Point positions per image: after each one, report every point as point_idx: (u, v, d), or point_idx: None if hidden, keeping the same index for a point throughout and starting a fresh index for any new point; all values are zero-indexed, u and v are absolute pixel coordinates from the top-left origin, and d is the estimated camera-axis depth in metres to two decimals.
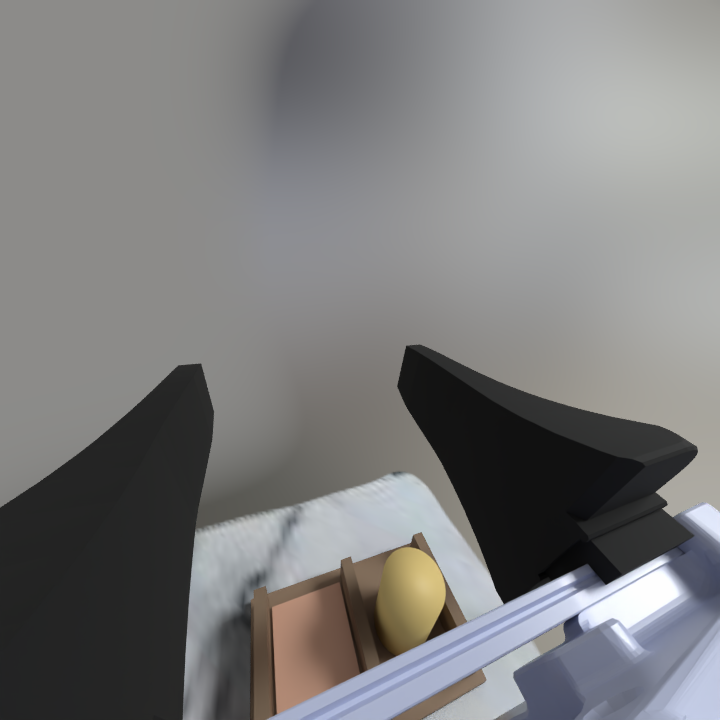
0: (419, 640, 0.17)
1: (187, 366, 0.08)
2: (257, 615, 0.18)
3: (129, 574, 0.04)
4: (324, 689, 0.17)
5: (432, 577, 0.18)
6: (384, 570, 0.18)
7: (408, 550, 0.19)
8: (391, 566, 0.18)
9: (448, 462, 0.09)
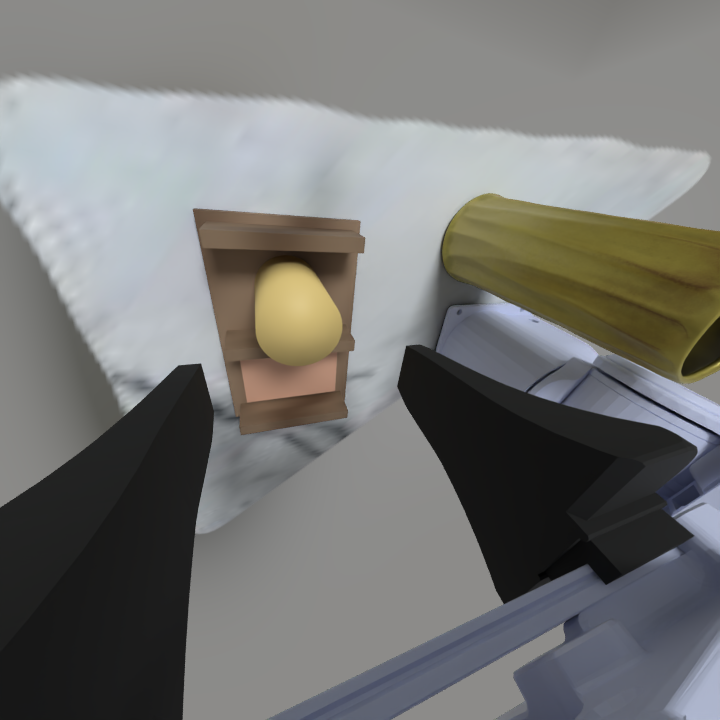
0: None
1: (187, 366, 0.08)
2: (262, 429, 0.20)
3: (129, 574, 0.04)
4: (313, 365, 0.21)
5: (304, 304, 0.12)
6: (278, 360, 0.13)
7: (261, 322, 0.12)
8: (276, 351, 0.13)
9: (448, 462, 0.09)
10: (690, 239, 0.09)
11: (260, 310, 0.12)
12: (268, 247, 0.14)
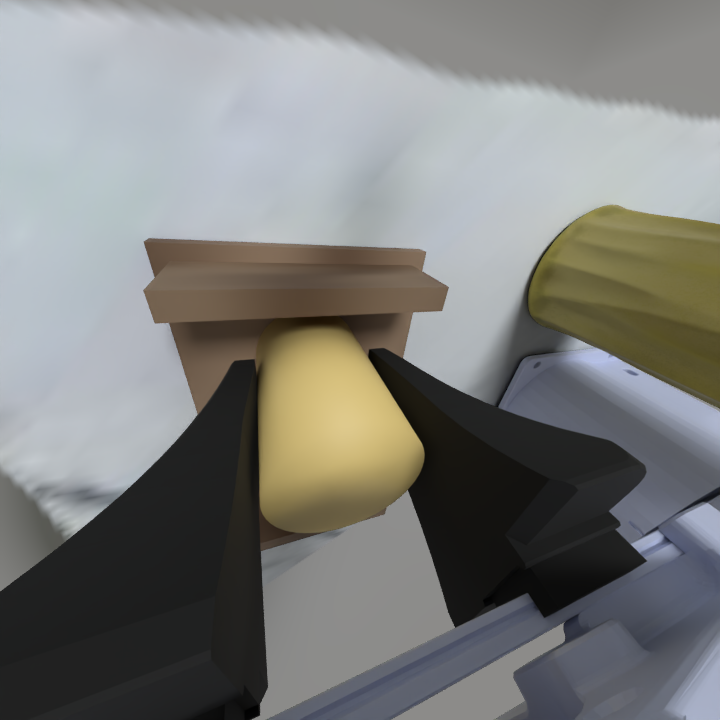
0: None
1: (243, 361, 0.08)
2: (267, 546, 0.14)
3: (244, 541, 0.04)
4: None
5: (361, 448, 0.06)
6: (303, 530, 0.07)
7: (272, 490, 0.06)
8: (300, 521, 0.07)
9: None
10: None
11: (270, 470, 0.05)
12: (282, 313, 0.07)
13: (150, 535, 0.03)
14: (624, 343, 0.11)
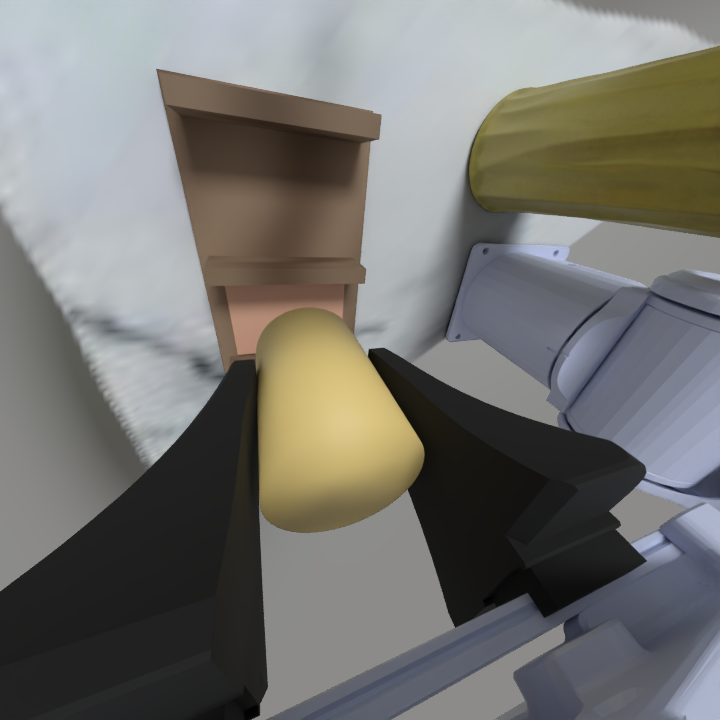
0: None
1: (243, 361, 0.08)
2: None
3: (244, 541, 0.04)
4: None
5: (361, 447, 0.06)
6: (303, 530, 0.07)
7: (272, 489, 0.06)
8: (299, 520, 0.07)
9: None
10: None
11: (270, 470, 0.05)
12: (255, 114, 0.10)
13: (149, 535, 0.03)
14: (531, 186, 0.14)
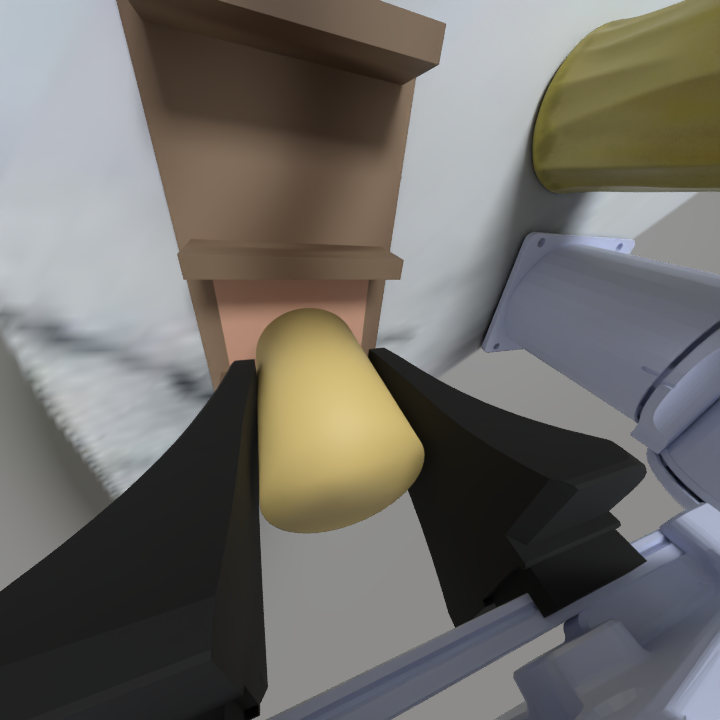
0: None
1: (243, 361, 0.08)
2: None
3: (244, 541, 0.04)
4: None
5: (361, 448, 0.06)
6: (303, 530, 0.07)
7: (272, 490, 0.06)
8: (299, 521, 0.07)
9: None
10: None
11: (270, 470, 0.05)
12: (256, 3, 0.06)
13: (150, 534, 0.03)
14: (639, 146, 0.10)
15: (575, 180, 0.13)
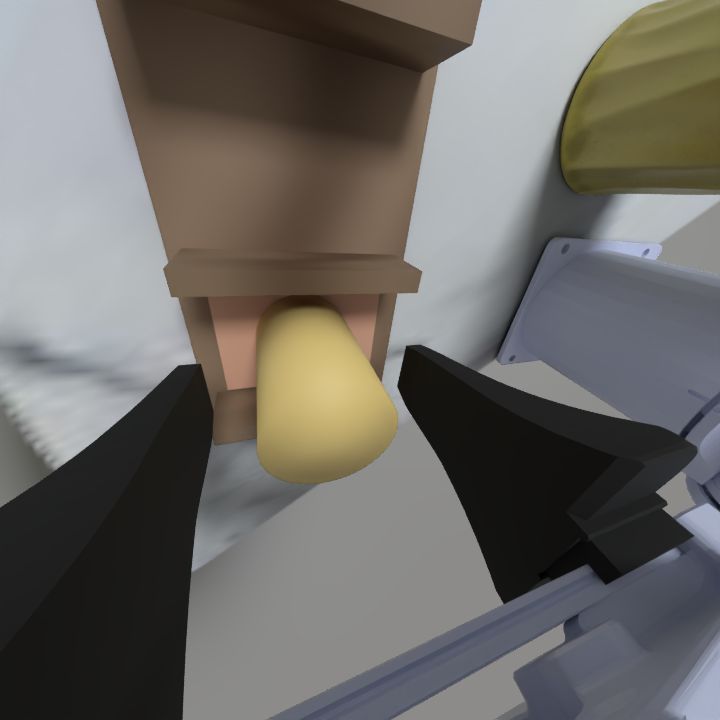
0: None
1: (187, 366, 0.08)
2: (253, 435, 0.12)
3: (129, 574, 0.04)
4: None
5: (342, 406, 0.07)
6: (294, 480, 0.08)
7: (267, 438, 0.07)
8: (291, 470, 0.08)
9: (448, 462, 0.09)
10: None
11: (266, 421, 0.07)
12: None
13: None
14: (693, 142, 0.09)
15: (609, 181, 0.12)
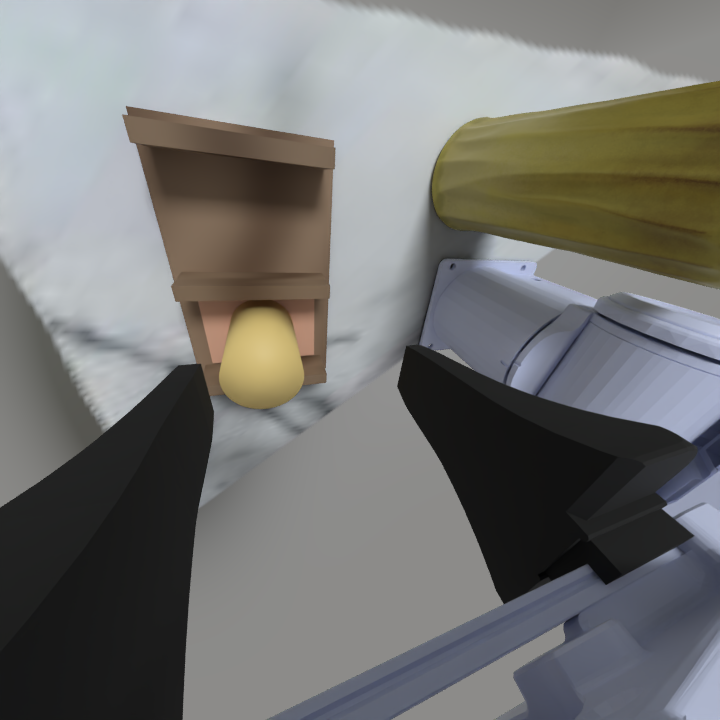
0: None
1: (187, 366, 0.08)
2: None
3: (129, 574, 0.04)
4: None
5: (265, 356, 0.13)
6: (243, 404, 0.14)
7: (224, 372, 0.13)
8: (240, 396, 0.14)
9: (448, 462, 0.09)
10: None
11: (223, 362, 0.13)
12: (215, 149, 0.11)
13: None
14: (482, 211, 0.15)
15: (462, 225, 0.18)
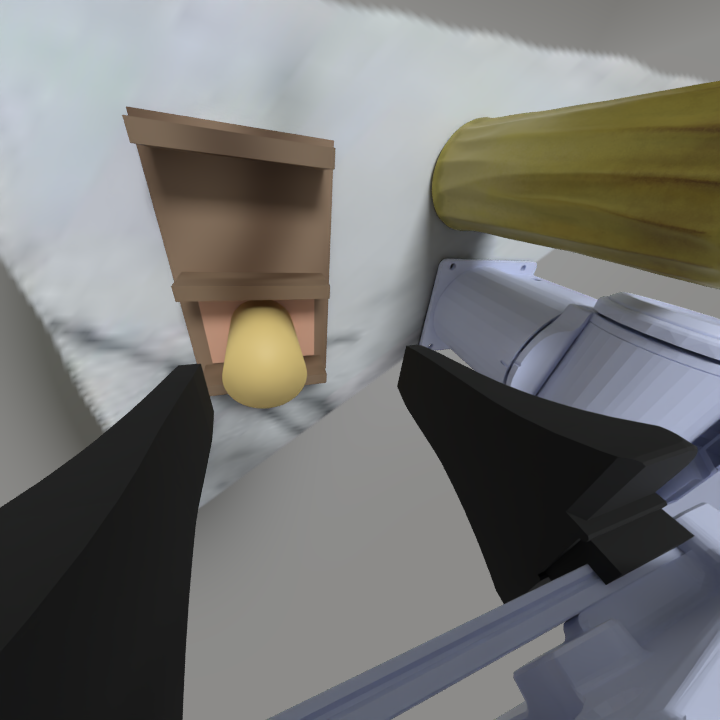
0: None
1: (187, 366, 0.08)
2: None
3: (129, 574, 0.04)
4: None
5: (270, 355, 0.13)
6: (244, 403, 0.14)
7: (228, 370, 0.13)
8: (242, 395, 0.14)
9: (448, 462, 0.09)
10: None
11: (227, 360, 0.13)
12: (215, 149, 0.11)
13: None
14: (482, 211, 0.15)
15: (462, 225, 0.18)
